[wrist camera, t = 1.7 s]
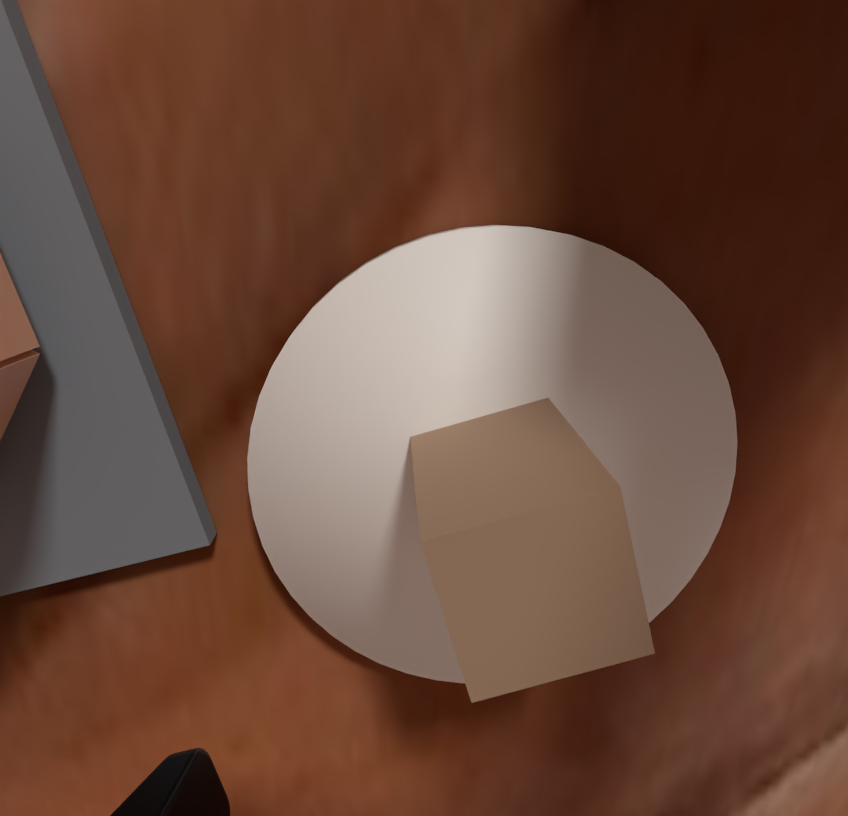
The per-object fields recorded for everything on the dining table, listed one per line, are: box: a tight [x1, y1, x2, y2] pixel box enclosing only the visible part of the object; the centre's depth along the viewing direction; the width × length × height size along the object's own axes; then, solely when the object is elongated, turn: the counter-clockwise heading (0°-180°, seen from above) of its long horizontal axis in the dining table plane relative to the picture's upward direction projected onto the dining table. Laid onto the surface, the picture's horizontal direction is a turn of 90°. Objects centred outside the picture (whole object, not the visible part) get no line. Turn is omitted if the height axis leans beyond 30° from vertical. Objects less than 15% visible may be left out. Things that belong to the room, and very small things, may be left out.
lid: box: [247, 225, 738, 703], centre depth 13 cm, size 11×11×6 cm
